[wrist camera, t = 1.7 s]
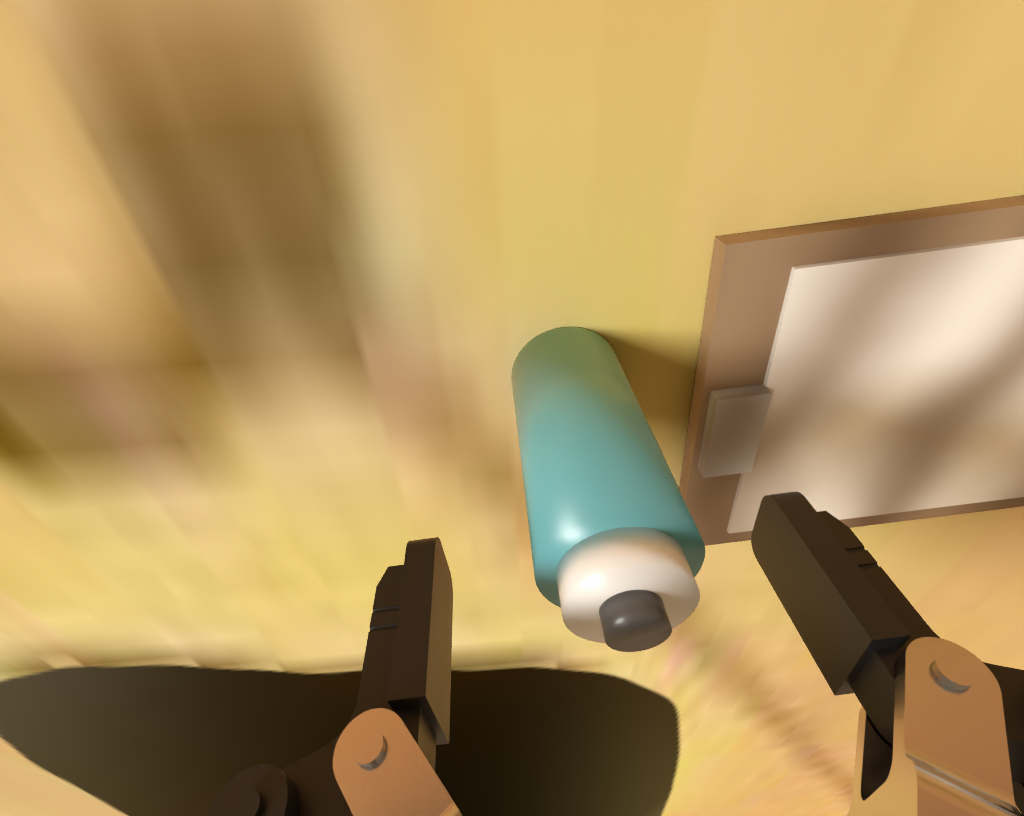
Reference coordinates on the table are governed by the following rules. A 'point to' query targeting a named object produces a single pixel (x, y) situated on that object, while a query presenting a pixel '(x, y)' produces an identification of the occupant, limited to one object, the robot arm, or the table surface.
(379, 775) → the robot arm
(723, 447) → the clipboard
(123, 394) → the table surface
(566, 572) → the bottle
